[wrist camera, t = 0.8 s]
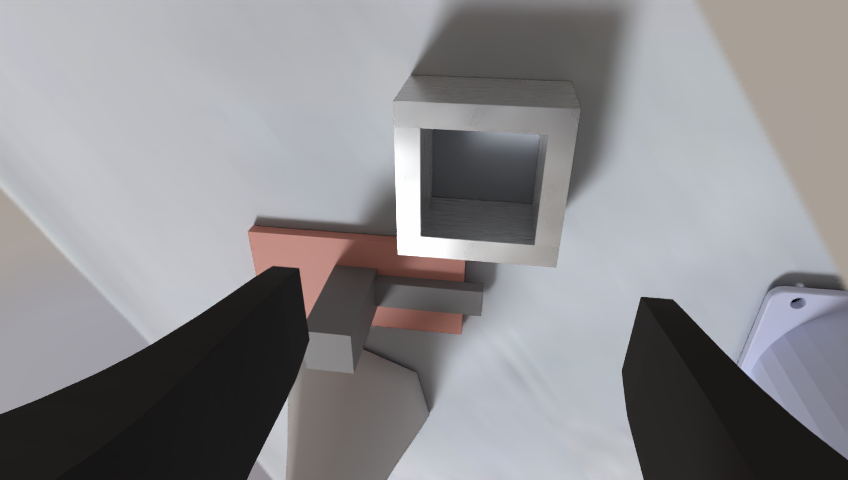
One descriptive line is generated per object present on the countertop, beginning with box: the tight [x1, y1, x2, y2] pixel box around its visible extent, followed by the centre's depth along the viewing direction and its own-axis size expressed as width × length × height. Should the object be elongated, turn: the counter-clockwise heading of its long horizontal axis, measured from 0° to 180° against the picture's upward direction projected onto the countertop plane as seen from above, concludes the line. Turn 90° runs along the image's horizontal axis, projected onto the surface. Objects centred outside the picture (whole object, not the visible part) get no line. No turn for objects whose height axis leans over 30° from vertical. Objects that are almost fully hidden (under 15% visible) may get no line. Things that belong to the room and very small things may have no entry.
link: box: [393, 75, 581, 267], centre depth 18 cm, size 5×5×3 cm
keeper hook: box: [248, 226, 483, 374], centre depth 21 cm, size 10×4×5 cm, turn 90°
